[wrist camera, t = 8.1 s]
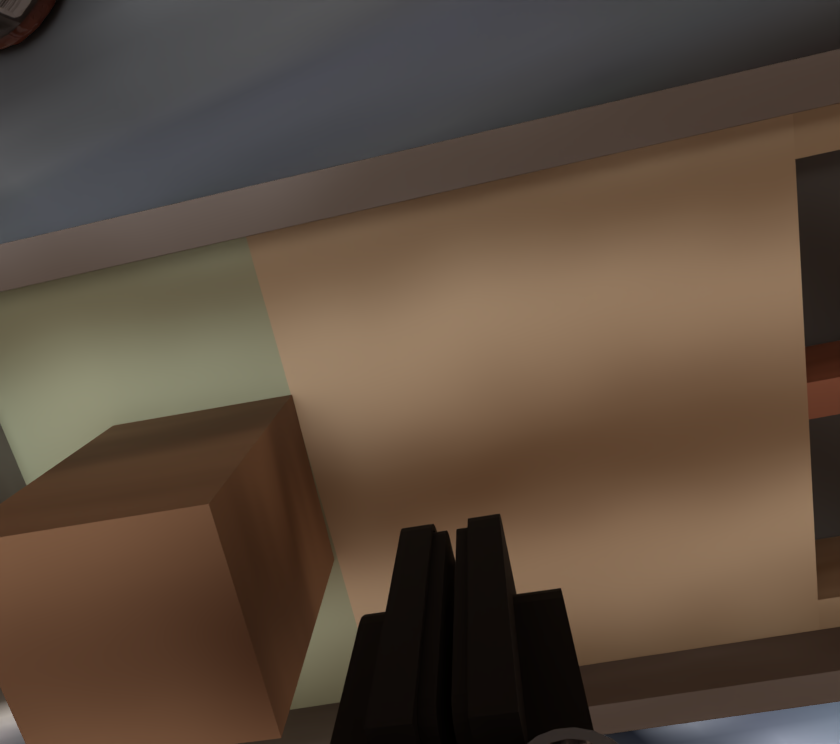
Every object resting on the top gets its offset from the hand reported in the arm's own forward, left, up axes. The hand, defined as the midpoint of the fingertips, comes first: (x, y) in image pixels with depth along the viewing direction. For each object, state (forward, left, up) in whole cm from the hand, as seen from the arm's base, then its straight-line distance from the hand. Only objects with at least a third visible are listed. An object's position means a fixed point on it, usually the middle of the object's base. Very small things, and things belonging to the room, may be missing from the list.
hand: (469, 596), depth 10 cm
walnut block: (0, -7, -6) cm, 9 cm away
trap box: (+1, +1, -9) cm, 9 cm away
